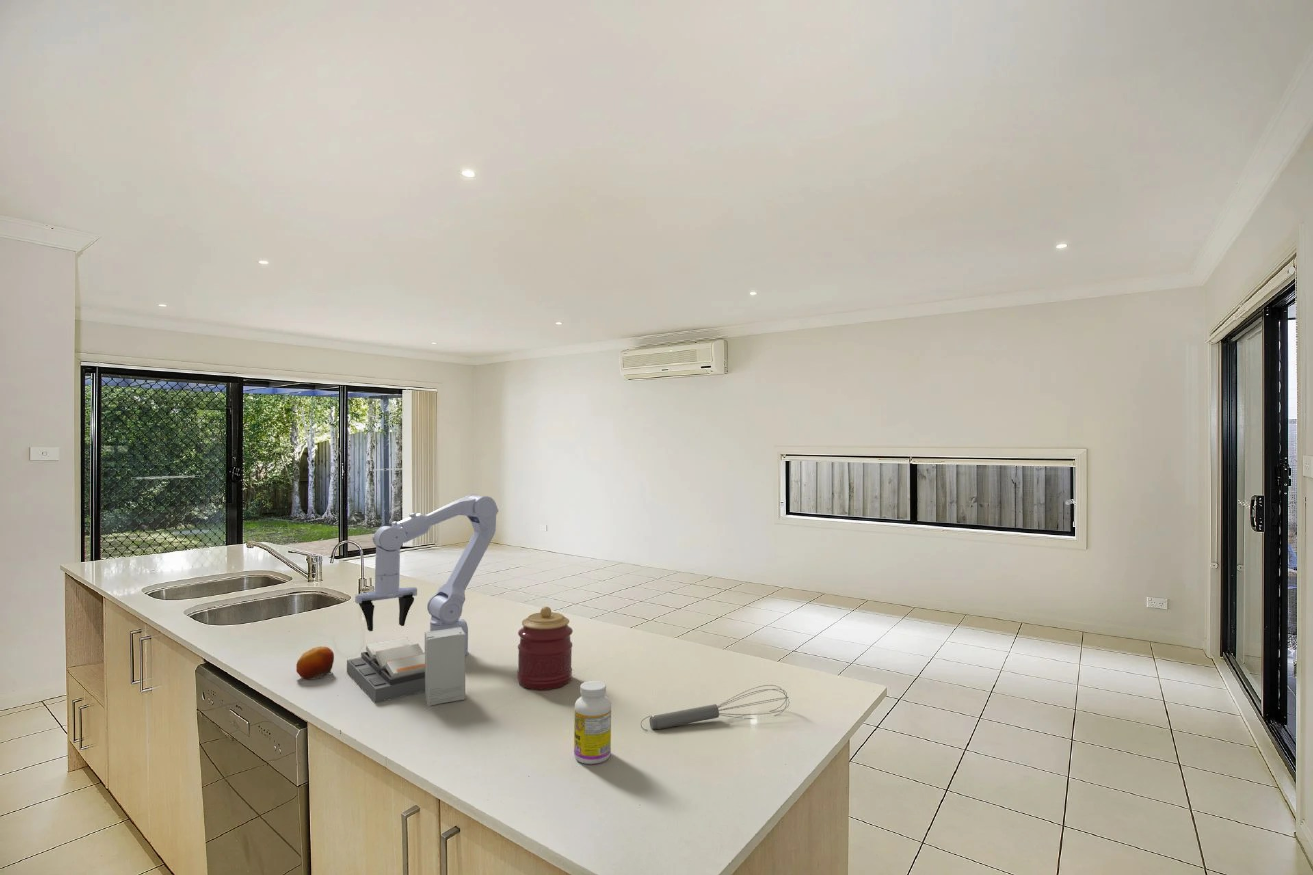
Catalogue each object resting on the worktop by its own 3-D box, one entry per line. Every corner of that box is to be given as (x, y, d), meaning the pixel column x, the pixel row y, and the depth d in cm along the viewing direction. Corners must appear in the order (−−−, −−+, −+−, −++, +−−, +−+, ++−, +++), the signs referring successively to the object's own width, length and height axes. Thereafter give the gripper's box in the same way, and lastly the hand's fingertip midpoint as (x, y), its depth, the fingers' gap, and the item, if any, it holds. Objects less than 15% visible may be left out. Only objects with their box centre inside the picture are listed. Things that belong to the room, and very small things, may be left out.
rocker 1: (406, 642, 160) (407, 636, 160) (414, 652, 156) (414, 646, 156) (365, 649, 154) (366, 643, 154) (372, 660, 150) (372, 654, 149)
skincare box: (461, 691, 141) (463, 625, 141) (465, 700, 136) (467, 632, 136) (422, 697, 137) (424, 630, 138) (425, 707, 132) (427, 637, 132)
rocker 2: (429, 658, 148) (429, 652, 148) (437, 669, 144) (438, 663, 144) (385, 667, 142) (386, 660, 141) (392, 679, 137) (393, 672, 137)
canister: (582, 676, 151) (583, 604, 152) (551, 694, 140) (553, 616, 140) (538, 667, 157) (539, 598, 157) (505, 684, 145) (507, 609, 145)
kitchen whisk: (636, 724, 125) (637, 694, 125) (780, 708, 135) (781, 679, 135) (644, 737, 119) (645, 706, 120) (794, 719, 129) (794, 690, 129)
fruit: (324, 677, 144) (310, 646, 145) (299, 692, 146) (285, 662, 147) (348, 666, 152) (334, 637, 153) (324, 680, 153) (310, 651, 154)
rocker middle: (417, 648, 154) (418, 643, 154) (424, 662, 150) (425, 656, 150) (375, 656, 148) (376, 650, 147) (381, 670, 144) (382, 665, 143)
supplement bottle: (574, 748, 114) (575, 678, 115) (610, 747, 115) (611, 677, 115) (572, 766, 108) (574, 692, 108) (610, 765, 108) (611, 691, 109)
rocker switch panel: (403, 655, 165) (404, 639, 165) (443, 686, 143) (443, 668, 143) (342, 667, 155) (343, 650, 155) (375, 702, 134) (375, 683, 134)
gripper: (361, 579, 149) (359, 636, 149) (421, 573, 158) (420, 626, 158) (353, 575, 154) (352, 629, 154) (412, 568, 164) (411, 620, 163)
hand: (386, 627), depth 156 cm, fingers open, 7 cm apart
